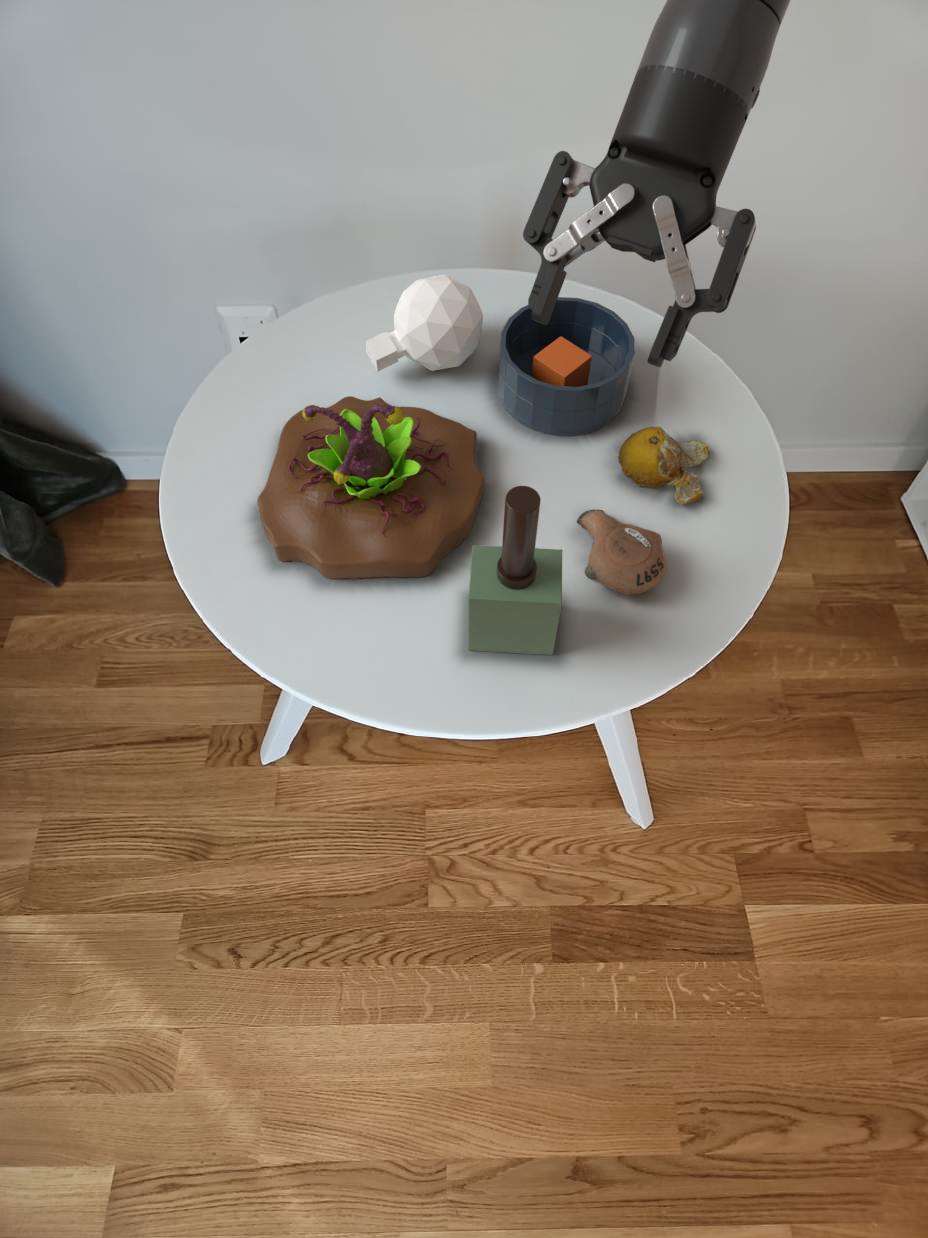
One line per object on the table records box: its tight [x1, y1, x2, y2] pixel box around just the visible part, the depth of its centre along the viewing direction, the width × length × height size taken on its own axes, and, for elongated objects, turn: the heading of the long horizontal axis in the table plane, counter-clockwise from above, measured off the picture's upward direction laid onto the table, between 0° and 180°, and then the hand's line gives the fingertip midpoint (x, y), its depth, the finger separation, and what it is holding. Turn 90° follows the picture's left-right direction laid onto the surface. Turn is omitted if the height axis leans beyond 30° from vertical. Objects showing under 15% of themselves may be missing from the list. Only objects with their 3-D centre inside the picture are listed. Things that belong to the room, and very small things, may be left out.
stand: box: [467, 544, 563, 656], centre depth 72 cm, size 7×5×8 cm
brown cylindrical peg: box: [497, 485, 542, 590], centre depth 65 cm, size 3×3×9 cm
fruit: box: [617, 426, 710, 506], centre depth 83 cm, size 8×8×4 cm
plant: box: [256, 395, 485, 580], centre depth 78 cm, size 20×20×11 cm
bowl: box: [497, 296, 636, 437], centre depth 87 cm, size 13×13×6 cm
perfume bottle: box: [364, 273, 484, 373], centre depth 88 cm, size 9×9×12 cm
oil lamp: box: [576, 509, 667, 595], centre depth 78 cm, size 9×4×8 cm
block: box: [532, 336, 592, 387], centre depth 87 cm, size 4×4×4 cm
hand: (595, 343), depth 61 cm, fingers open, 8 cm apart
